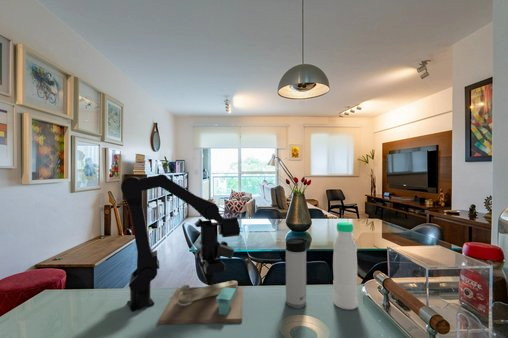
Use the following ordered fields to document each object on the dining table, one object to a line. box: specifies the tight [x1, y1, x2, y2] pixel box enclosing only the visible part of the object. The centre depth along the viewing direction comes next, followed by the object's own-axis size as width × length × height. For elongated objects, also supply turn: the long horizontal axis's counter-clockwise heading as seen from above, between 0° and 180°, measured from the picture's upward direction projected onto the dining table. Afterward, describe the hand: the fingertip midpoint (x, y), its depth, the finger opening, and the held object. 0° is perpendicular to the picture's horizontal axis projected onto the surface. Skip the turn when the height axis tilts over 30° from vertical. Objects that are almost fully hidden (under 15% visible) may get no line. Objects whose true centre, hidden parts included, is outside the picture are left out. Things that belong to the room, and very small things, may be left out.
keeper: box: [178, 287, 236, 315], centre depth 75 cm, size 18×7×4 cm, turn 79°
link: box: [179, 280, 238, 304], centre depth 81 cm, size 20×4×4 cm, turn 119°
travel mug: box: [285, 237, 308, 309], centre depth 78 cm, size 6×7×20 cm
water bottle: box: [332, 221, 359, 311], centre depth 78 cm, size 7×7×25 cm
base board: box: [157, 286, 244, 325], centre depth 78 cm, size 22×19×1 cm
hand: (209, 284), depth 86 cm, fingers closed
